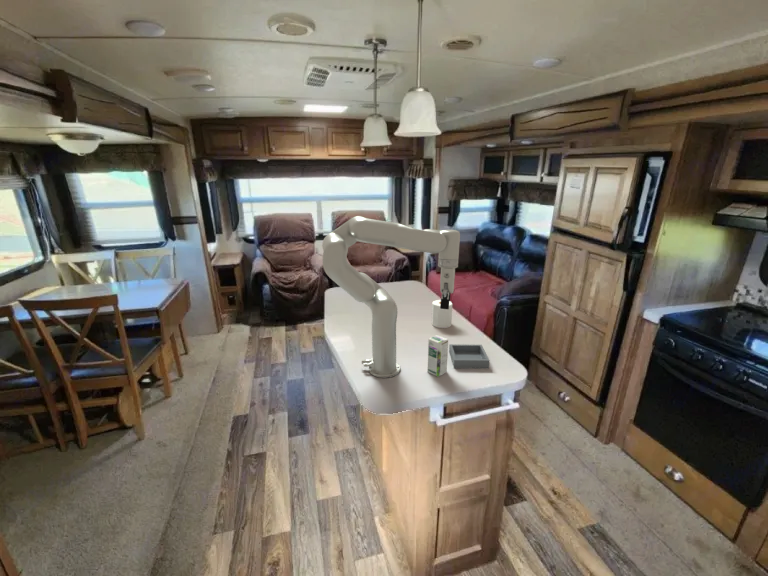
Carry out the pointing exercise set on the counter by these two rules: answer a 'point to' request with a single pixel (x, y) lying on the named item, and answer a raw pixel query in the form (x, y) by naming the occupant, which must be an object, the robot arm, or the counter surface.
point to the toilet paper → (441, 315)
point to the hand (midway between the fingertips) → (445, 304)
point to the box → (468, 356)
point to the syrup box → (437, 355)
